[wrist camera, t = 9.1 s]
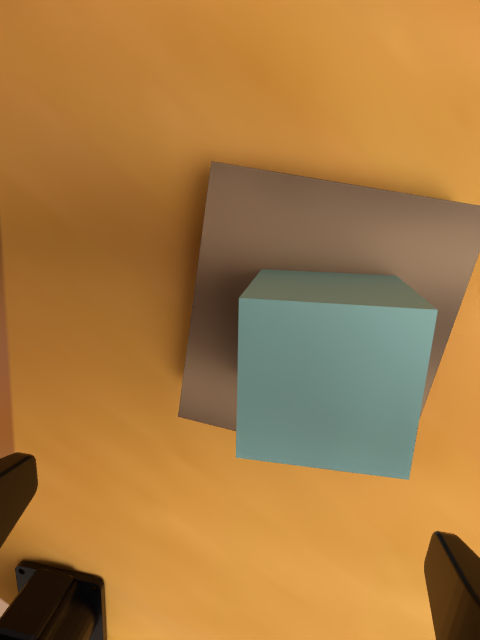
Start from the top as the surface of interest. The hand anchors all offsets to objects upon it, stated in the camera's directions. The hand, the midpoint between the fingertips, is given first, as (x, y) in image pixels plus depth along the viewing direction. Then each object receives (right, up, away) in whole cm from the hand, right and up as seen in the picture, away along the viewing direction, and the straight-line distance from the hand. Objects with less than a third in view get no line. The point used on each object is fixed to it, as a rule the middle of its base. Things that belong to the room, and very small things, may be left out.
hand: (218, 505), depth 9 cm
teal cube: (+4, +4, +7) cm, 9 cm away
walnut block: (+4, +5, +11) cm, 12 cm away
